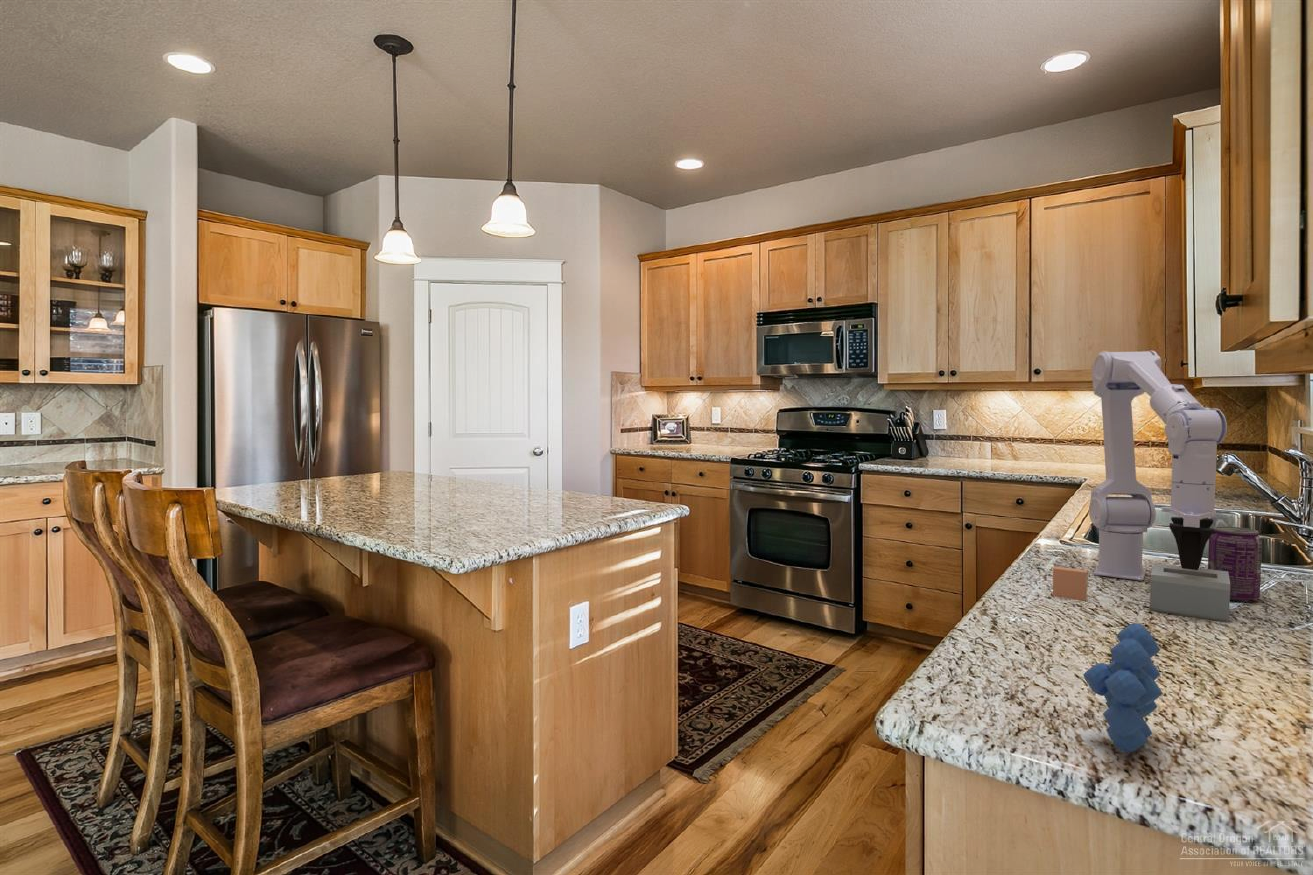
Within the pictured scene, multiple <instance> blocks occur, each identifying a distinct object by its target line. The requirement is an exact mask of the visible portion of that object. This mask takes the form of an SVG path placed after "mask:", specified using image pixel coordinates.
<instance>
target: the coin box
mask: <svg viewBox="0 0 1313 875" xmlns="http://www.w3.org/2000/svg"><path fill="white" fill-rule="evenodd" d="M1149 592H1150V595H1149V596H1150V598H1149V611H1152V612H1157V611H1158V612H1157V613H1164V612H1165V613H1164V614H1170V615H1171V614H1172V615H1177V616H1178V615H1179V616H1184V617H1185V616H1186V617H1192V618H1199V619H1204V620H1210V621H1211V620H1212V621H1219V622H1224V623H1229V622H1230V603H1231V600H1230V579H1229V573H1228V571H1219V570H1211V569H1208V568H1203V567H1202V568H1200V567H1199V569H1198V570H1191V569H1183V568H1182V567H1181V565H1175V564H1166V563H1157V562H1154V563H1153V566H1152V570H1151V573H1150V591H1149Z"/></svg>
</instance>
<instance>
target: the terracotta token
mask: <svg viewBox="0 0 1313 875" xmlns="http://www.w3.org/2000/svg"><path fill="white" fill-rule="evenodd" d="M1052 569H1053V570H1052V597H1055V598H1062V597H1063V598H1062V599H1069V600H1076V601H1082V602H1083V601H1084V602H1086V601H1087V599H1088V583H1089V582H1088V581H1089V580H1088V578H1089V575H1088V574H1089V571H1088V570H1087V569H1079V568H1072V567H1065V566H1055V565H1054V567H1053V568H1052Z"/></svg>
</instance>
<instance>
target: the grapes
mask: <svg viewBox="0 0 1313 875" xmlns="http://www.w3.org/2000/svg"><path fill="white" fill-rule="evenodd" d="M1116 638H1117V639H1118V643H1117V644H1115V645H1114V646H1113V647H1112V648H1111V649H1110V650H1109V652H1110V655H1111V656H1112V657H1111V658H1110V659H1109V660H1110V661H1111V662H1110V663H1109V664H1106V663H1105V662H1099V663H1096V664H1094V665H1092V666H1091V667H1090V668H1089V669H1087V670H1086V671H1085V672H1084V673H1083V674H1082V675H1083V678H1084V680H1085V681H1086V683H1087V685H1088V687H1089V688H1090V690H1092V692H1093V693H1094V694H1097V695H1098V696H1101V697H1104V698H1105V701H1106V702H1105V705H1106V706H1107V707H1108V708H1107V709H1105V711H1104V712H1102V715H1103V716H1104V719H1105V721H1106V723H1107V724H1108V727H1107V728H1106V729H1105V730H1106V733H1107V735H1108V736H1109V738H1110V740H1111V741H1112V744H1114V746H1115V747H1116V749H1117V750H1119V751H1120V752H1122V753H1125V754H1130V753H1133V752H1135V751H1138V750H1139V749H1140V748H1141V747H1142V746H1143V745H1144V744H1146V743H1147V742H1148V740H1147V739H1148V738H1149V737H1151V736H1152V734H1153V732H1152V730H1151V729H1150V726H1149V725H1148V723H1147V722H1146V720H1145V719H1144V718H1146V717H1148V716H1149V715H1150V714H1151V713H1152V712H1154V711H1155V710H1156V709H1157V708H1158V706H1157V704H1156V702H1155V701H1156V700H1157V699H1159V697H1160V696H1162V695H1163V692H1162V690H1161V688H1160V687H1159V685H1158V684H1157V682H1156V680H1157V679H1158V678H1159V677H1160V676H1161V673H1160V671H1159V670H1158V668H1157V666H1156V665H1155V663H1153V661H1152V658H1153V657H1154V656H1156V655H1157V654H1158V653H1159V652H1160V651H1161V649H1160V647H1159V645H1158V643H1157V641H1156V640H1155V639H1154V637H1153V636H1152V634H1151V632H1150V631H1149V630H1148V629H1147V627H1146V626H1144V625H1142V624H1141V623H1138V622H1134V623H1130V624H1128V625H1127V626H1126V627H1124V628H1123V629H1122V630H1121V631H1119V633H1117V634H1116Z"/></svg>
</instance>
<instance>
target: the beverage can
mask: <svg viewBox="0 0 1313 875" xmlns="http://www.w3.org/2000/svg"><path fill="white" fill-rule="evenodd" d="M1212 529H1214V532H1213V533H1212V535H1211V536H1210V538H1209V539H1208V552H1207V553H1208V555H1207V556H1208V557H1207V569H1211V570H1219V571H1228V573H1229V579H1230V601H1235V602H1251V601H1253V600H1257V599H1260V598H1261V582H1262V581H1261V579H1262V578H1261V577H1262V576H1261V574H1262V552H1263V551H1262V550H1263V542H1262V540H1261V538H1260V536H1259V534H1260V531H1258V530H1256V529H1253V528H1247V527H1246V528H1245V527H1238V526H1226V525H1223V526H1221V525H1220V526H1213V527H1212Z"/></svg>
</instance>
